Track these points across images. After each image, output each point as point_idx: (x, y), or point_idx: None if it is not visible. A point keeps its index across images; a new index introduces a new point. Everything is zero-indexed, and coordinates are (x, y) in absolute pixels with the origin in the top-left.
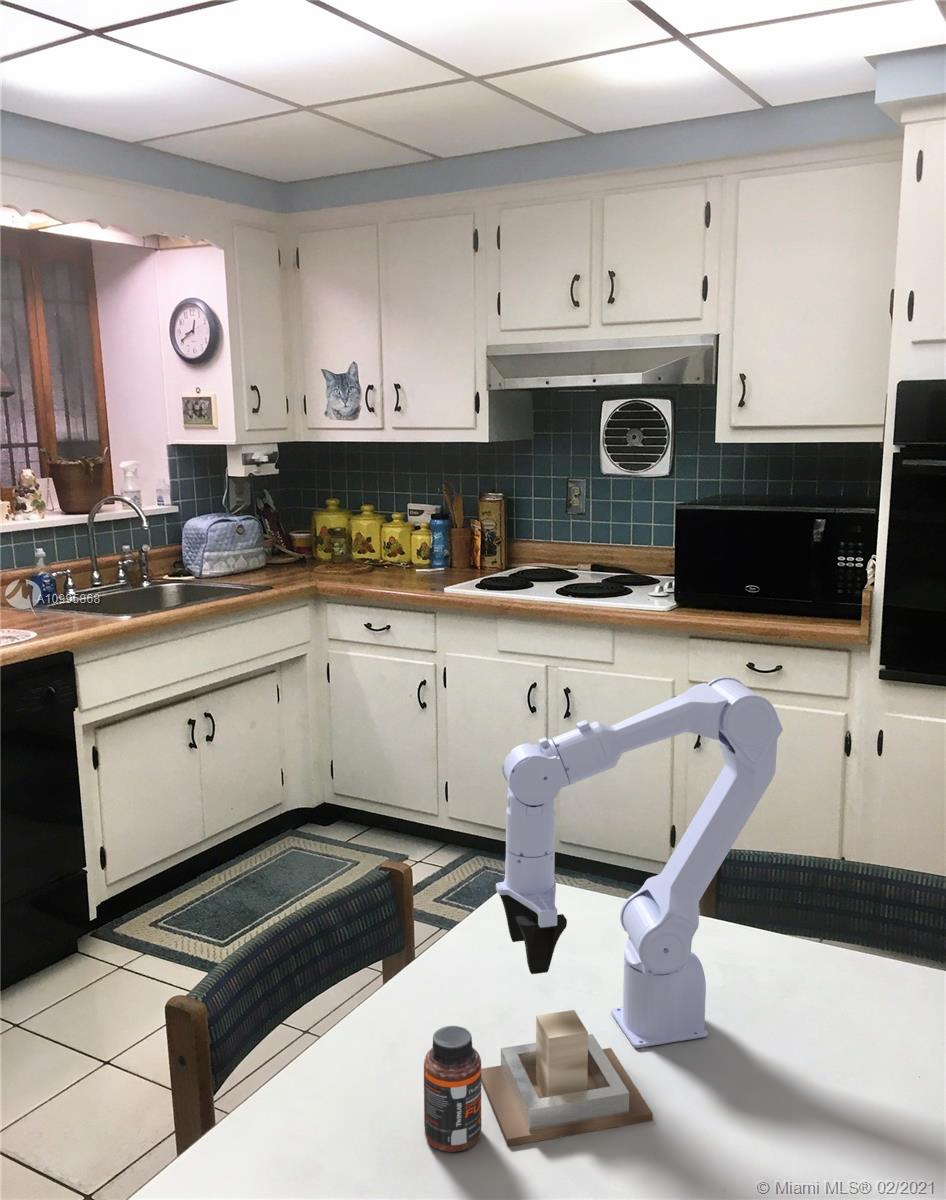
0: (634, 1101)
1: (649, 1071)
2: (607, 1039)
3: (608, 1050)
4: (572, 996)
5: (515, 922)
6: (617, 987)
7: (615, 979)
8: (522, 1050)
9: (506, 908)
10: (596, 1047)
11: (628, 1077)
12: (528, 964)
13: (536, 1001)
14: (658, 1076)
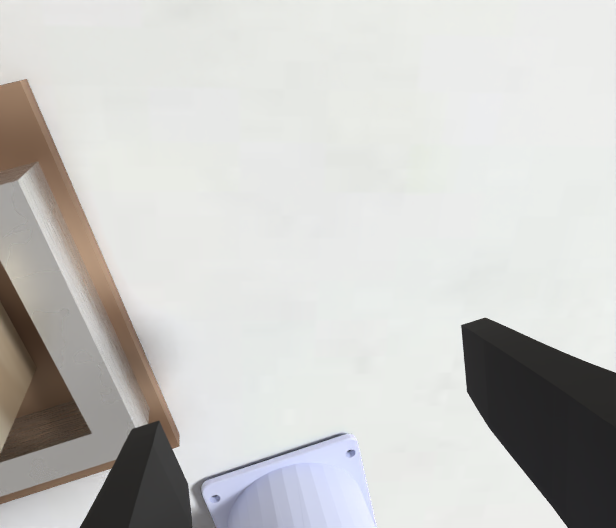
0: None
1: None
2: (243, 425)
3: None
4: (435, 347)
5: (530, 405)
6: (455, 439)
7: (488, 434)
8: (16, 257)
9: (612, 429)
10: (74, 461)
11: (51, 484)
12: (130, 454)
13: (425, 260)
14: None
